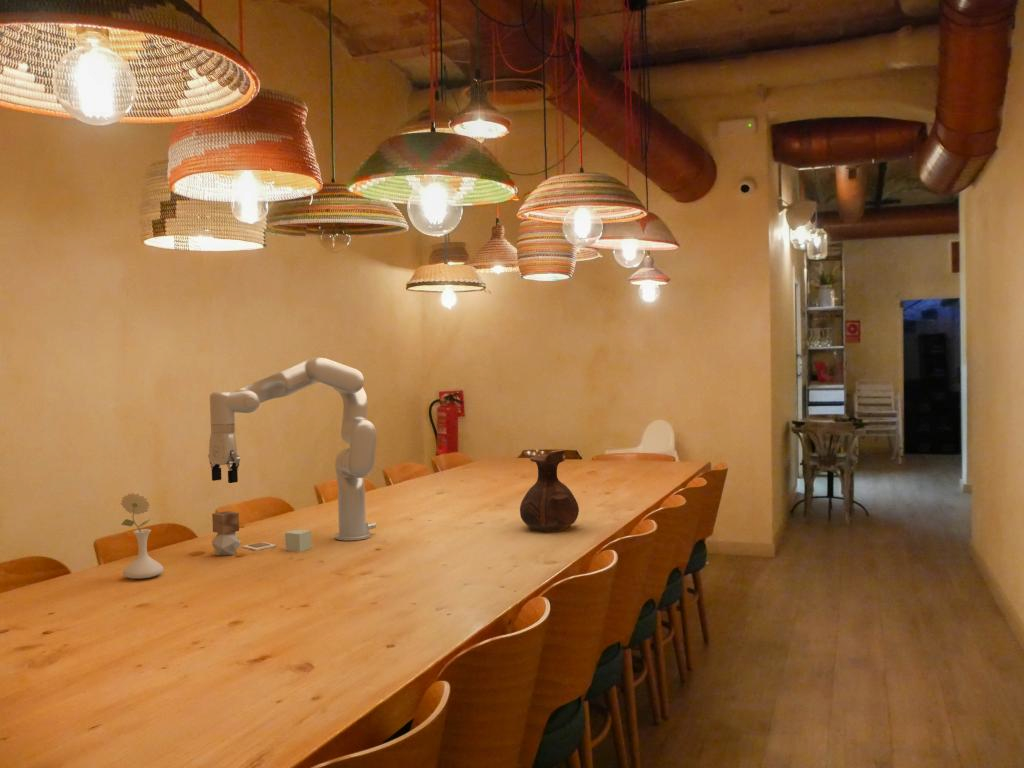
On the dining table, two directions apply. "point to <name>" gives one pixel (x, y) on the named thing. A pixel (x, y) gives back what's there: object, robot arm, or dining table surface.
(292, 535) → the sage block
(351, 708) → the dining table surface
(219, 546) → the die
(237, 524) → the walnut block
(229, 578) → the dining table surface
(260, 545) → the tile
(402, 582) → the dining table surface
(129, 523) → the flower in vase
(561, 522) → the dark brown vase
